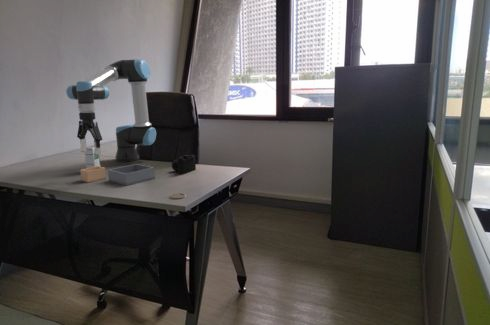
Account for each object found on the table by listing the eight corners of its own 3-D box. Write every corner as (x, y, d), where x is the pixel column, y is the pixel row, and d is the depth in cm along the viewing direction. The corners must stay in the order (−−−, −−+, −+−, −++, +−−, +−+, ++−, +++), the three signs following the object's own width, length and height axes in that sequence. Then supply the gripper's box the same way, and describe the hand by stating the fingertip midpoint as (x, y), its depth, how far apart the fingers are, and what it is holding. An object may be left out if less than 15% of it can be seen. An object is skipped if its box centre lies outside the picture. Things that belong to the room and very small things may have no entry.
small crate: (98, 176, 200) (97, 166, 198) (105, 178, 196) (104, 167, 194) (81, 180, 192) (80, 169, 191) (88, 182, 188) (87, 171, 187)
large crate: (136, 174, 204) (136, 163, 203) (154, 178, 195) (154, 167, 194) (109, 180, 191) (107, 169, 190) (126, 185, 182) (125, 174, 180)
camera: (184, 167, 219) (183, 151, 217) (198, 169, 214) (197, 153, 212) (168, 172, 208) (167, 155, 205) (182, 175, 202) (182, 157, 200)
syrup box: (95, 172, 208) (93, 148, 205) (86, 172, 210) (83, 147, 206) (101, 170, 214) (98, 146, 211) (92, 170, 215) (89, 146, 212)
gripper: (67, 111, 191) (71, 151, 195) (93, 113, 176) (97, 156, 180) (81, 110, 196) (85, 149, 201) (107, 112, 182) (110, 153, 186)
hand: (90, 152), depth 190 cm, fingers open, 13 cm apart
